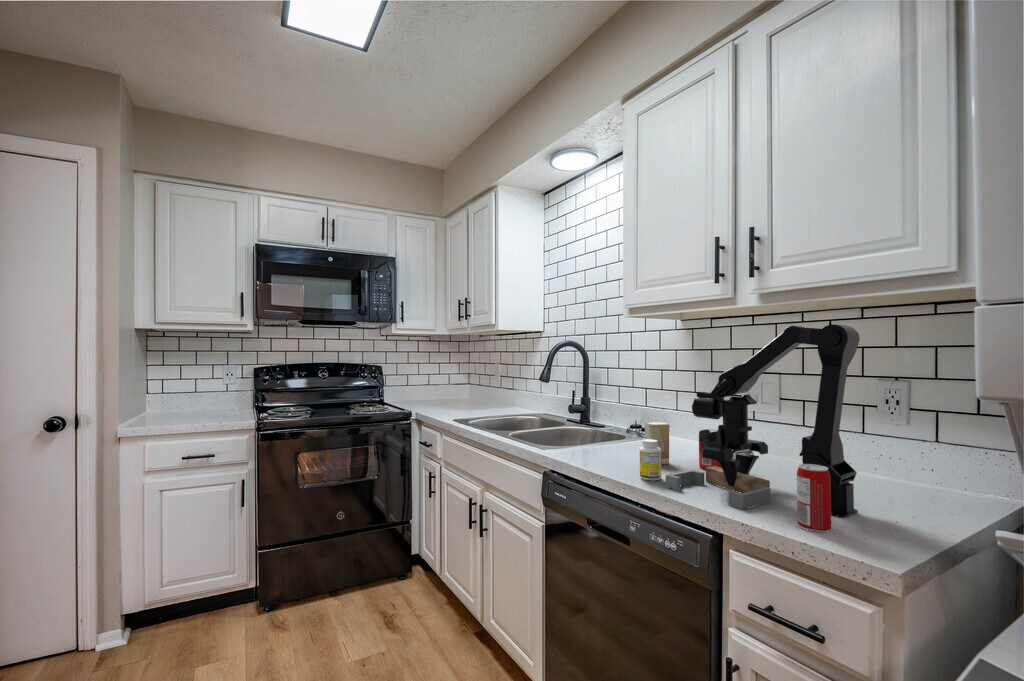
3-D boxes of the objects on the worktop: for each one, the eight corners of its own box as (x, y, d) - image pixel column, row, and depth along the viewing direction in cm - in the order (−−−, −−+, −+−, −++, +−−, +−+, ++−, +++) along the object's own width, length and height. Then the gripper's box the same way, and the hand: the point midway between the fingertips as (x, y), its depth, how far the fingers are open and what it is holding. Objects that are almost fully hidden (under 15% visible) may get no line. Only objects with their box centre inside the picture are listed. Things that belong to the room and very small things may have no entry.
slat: (769, 497, 115) (769, 480, 115) (759, 499, 114) (759, 482, 114) (715, 481, 130) (715, 466, 130) (705, 483, 128) (705, 467, 129)
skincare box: (651, 465, 148) (650, 424, 148) (644, 462, 152) (643, 422, 153) (670, 464, 150) (670, 423, 150) (662, 461, 154) (662, 421, 154)
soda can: (836, 529, 94) (835, 466, 94) (823, 535, 91) (822, 470, 91) (805, 521, 99) (804, 460, 99) (792, 527, 95) (791, 464, 96)
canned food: (731, 472, 139) (731, 433, 139) (701, 471, 140) (701, 432, 141) (725, 466, 146) (725, 429, 146) (697, 465, 148) (696, 428, 148)
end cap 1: (665, 487, 124) (665, 475, 124) (693, 481, 129) (692, 469, 129) (677, 490, 121) (677, 478, 121) (704, 484, 126) (704, 472, 126)
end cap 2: (770, 501, 111) (770, 488, 112) (743, 509, 106) (742, 495, 106) (756, 497, 114) (756, 484, 115) (728, 505, 109) (728, 491, 109)
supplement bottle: (646, 475, 136) (646, 437, 137) (665, 478, 132) (664, 440, 132) (635, 478, 132) (635, 440, 133) (654, 482, 128) (653, 443, 129)
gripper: (729, 415, 134) (729, 473, 134) (683, 420, 124) (684, 482, 124) (768, 420, 125) (769, 482, 124) (722, 426, 115) (723, 493, 114)
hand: (736, 484), depth 122 cm, fingers closed on slat, 4 cm apart
